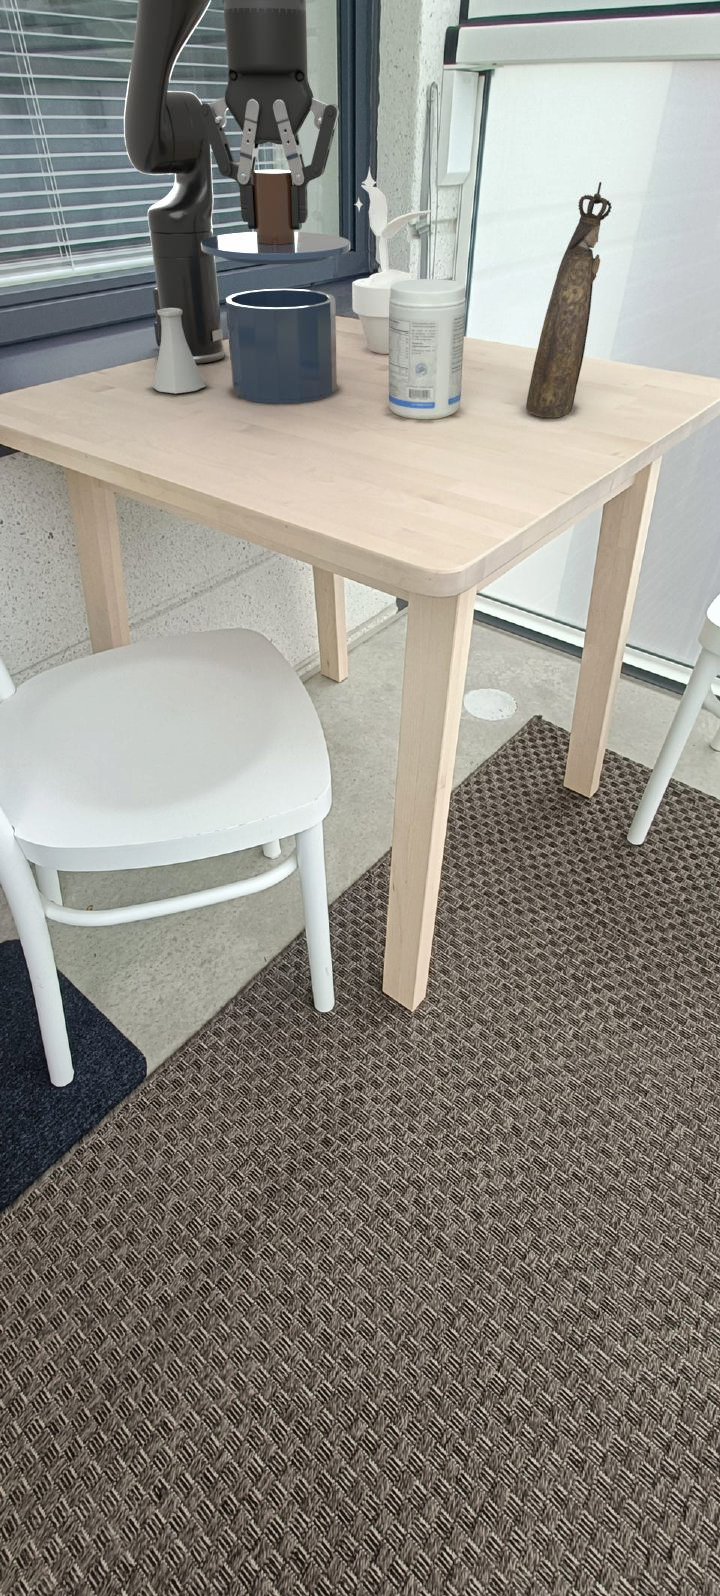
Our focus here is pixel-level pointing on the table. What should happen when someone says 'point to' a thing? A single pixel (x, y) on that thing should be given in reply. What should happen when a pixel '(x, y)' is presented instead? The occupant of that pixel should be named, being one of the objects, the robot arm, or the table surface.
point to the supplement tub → (426, 347)
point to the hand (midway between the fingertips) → (274, 227)
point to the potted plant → (375, 290)
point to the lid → (274, 230)
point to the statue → (567, 319)
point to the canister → (282, 345)
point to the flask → (175, 357)
